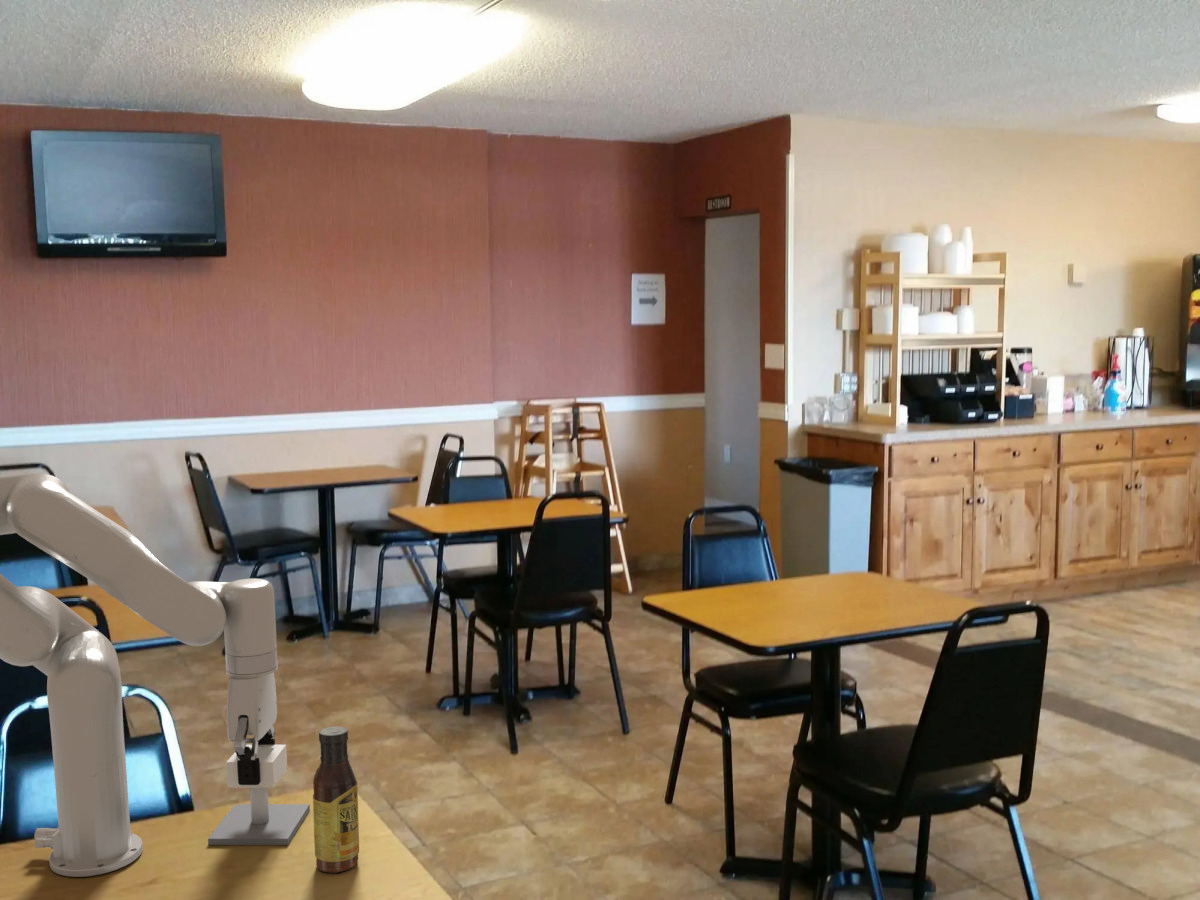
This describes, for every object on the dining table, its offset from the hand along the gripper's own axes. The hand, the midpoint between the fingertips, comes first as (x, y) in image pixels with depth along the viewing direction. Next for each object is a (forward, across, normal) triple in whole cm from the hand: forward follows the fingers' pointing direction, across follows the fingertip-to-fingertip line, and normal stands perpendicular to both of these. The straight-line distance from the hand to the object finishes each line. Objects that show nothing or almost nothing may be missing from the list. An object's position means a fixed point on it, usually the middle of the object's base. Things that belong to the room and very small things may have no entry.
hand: (257, 773), depth 181 cm
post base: (+9, 0, 0) cm, 9 cm away
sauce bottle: (+9, +12, +15) cm, 21 cm away
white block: (+1, 0, 0) cm, 1 cm away
